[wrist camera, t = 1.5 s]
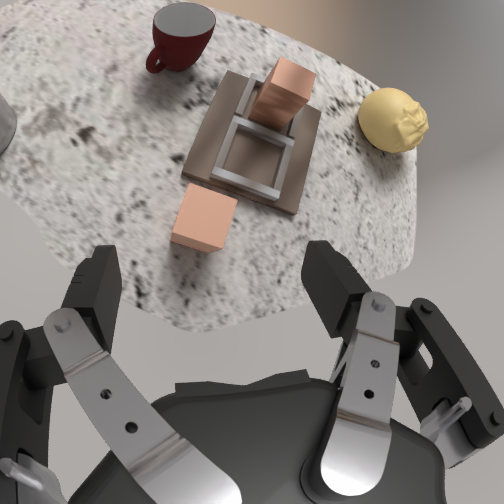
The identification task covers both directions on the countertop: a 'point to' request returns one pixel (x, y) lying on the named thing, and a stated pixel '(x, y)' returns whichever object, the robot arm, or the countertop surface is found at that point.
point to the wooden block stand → (258, 136)
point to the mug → (180, 36)
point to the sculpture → (392, 120)
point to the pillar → (203, 219)
